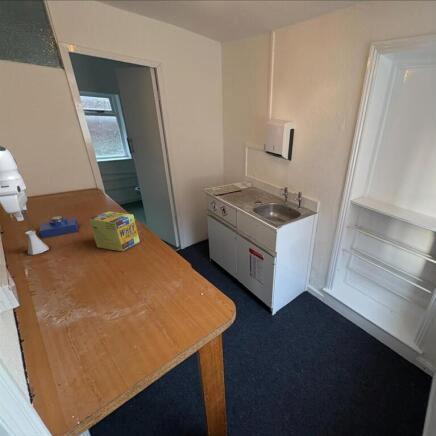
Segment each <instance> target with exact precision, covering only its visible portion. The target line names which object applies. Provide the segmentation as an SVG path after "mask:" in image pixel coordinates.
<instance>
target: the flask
mask: <svg viewBox="0 0 436 436" xmlns="http://www.w3.org/2000/svg"><path fill="white" fill-rule="evenodd" d="M24 234H25V235H26V236H27V240H28V244H27V245H28V247H27V255H32V256H33V255H38V254H43V253H44V252H46V251H49V250H50V248H49V246H48V245H47V244H46V243H45V242H43V241H42V240H41V239H40V238H39V236H37V233H36V230H27V231H26V232H24Z"/></svg>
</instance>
